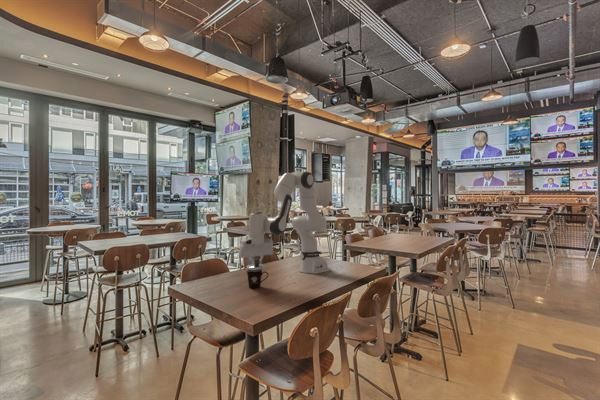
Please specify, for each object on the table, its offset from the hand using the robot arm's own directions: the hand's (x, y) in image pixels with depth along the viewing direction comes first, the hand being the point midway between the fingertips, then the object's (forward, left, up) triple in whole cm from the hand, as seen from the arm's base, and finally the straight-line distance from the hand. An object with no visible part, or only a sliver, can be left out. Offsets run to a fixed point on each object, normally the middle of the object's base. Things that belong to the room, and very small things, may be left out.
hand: (256, 263), depth 174 cm
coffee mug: (0, 0, -14) cm, 14 cm away
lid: (0, 0, -2) cm, 2 cm away
